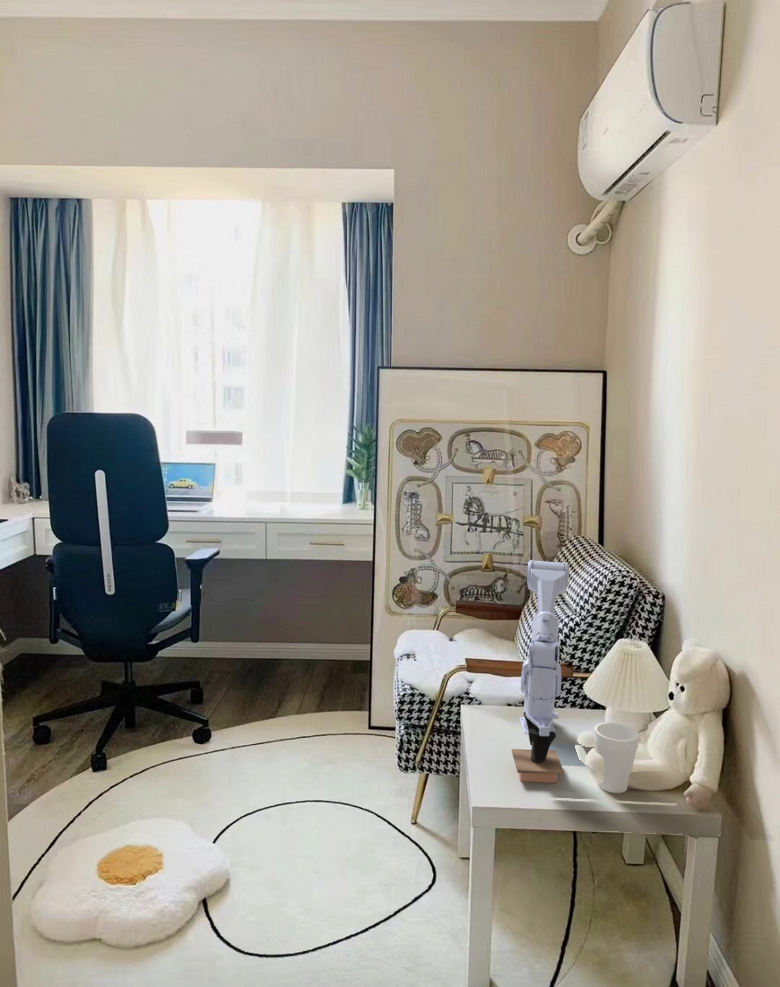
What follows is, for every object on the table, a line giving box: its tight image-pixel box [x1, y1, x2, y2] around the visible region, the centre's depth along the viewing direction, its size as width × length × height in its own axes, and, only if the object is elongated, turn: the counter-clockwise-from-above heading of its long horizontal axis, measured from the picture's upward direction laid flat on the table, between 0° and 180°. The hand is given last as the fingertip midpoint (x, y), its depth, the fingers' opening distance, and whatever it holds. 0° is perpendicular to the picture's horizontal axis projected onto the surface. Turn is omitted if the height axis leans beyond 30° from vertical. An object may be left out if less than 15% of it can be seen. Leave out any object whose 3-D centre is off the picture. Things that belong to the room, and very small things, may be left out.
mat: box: [549, 742, 586, 767], centre depth 193 cm, size 11×11×1 cm
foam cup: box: [593, 721, 640, 794], centre depth 178 cm, size 10×9×13 cm
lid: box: [511, 742, 565, 776], centre depth 183 cm, size 10×10×5 cm
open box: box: [517, 772, 559, 784], centre depth 183 cm, size 8×8×3 cm
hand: (537, 752), depth 183 cm, fingers open, 7 cm apart
